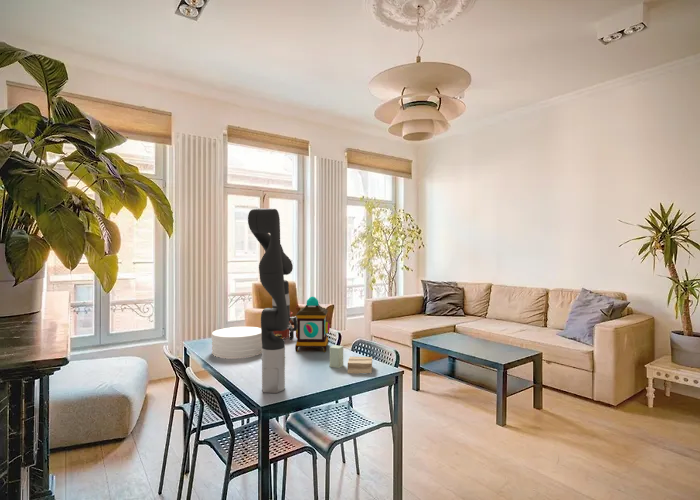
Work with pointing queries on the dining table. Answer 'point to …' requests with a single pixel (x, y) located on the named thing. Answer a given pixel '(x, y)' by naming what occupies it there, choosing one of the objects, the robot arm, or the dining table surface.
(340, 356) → the sage pillar
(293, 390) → the dining table surface
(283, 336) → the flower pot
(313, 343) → the decorative lantern
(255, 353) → the plate stack
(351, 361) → the oak block
